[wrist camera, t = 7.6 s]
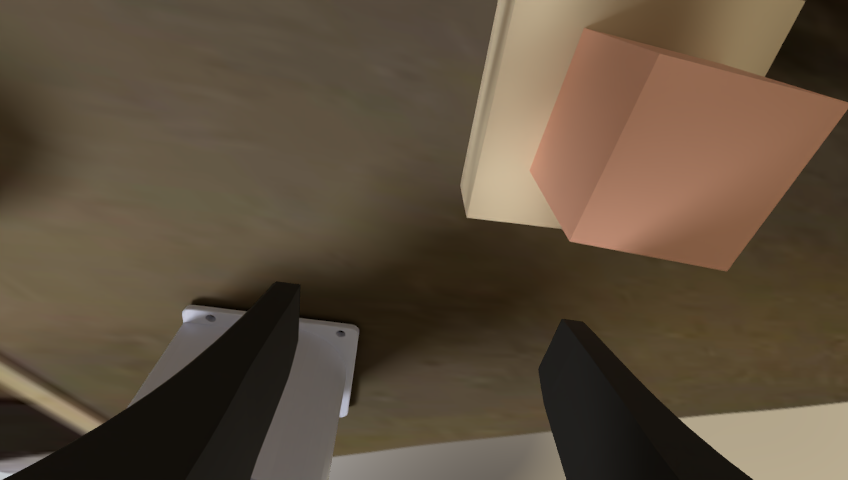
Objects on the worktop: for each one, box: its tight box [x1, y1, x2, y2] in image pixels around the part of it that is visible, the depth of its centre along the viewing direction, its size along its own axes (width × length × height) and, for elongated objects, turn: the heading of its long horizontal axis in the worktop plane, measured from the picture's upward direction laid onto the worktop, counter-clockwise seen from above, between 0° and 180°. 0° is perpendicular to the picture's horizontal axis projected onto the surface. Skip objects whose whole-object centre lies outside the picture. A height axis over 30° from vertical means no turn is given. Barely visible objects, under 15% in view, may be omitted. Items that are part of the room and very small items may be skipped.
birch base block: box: [460, 0, 805, 229], centre depth 17 cm, size 9×9×4 cm
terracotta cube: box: [529, 28, 848, 271], centre depth 13 cm, size 5×5×5 cm
